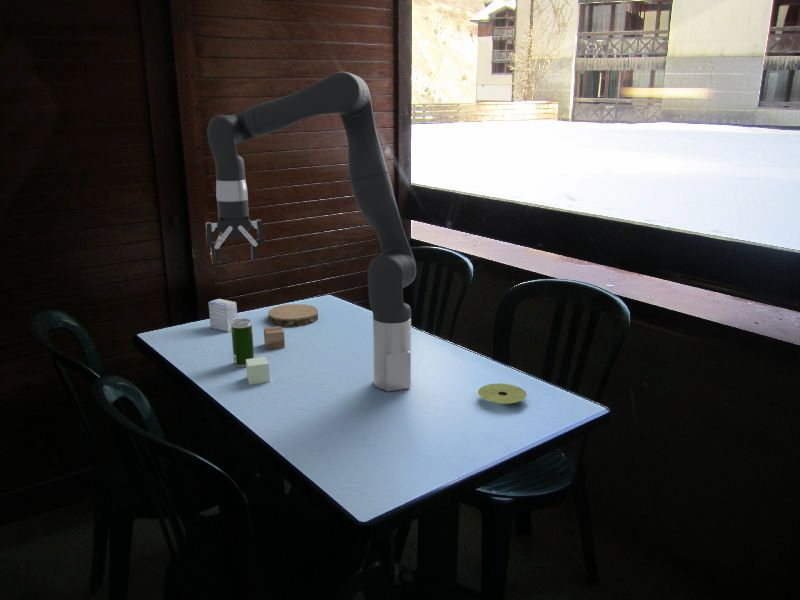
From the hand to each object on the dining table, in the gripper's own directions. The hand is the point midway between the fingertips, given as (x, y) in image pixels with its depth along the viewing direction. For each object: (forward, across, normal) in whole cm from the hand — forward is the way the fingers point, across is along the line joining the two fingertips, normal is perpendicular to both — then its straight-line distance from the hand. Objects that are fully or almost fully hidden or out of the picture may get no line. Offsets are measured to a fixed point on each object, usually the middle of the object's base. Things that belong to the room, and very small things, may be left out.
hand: (236, 261), depth 169 cm
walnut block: (+28, +10, +11) cm, 32 cm away
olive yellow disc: (+28, +54, -44) cm, 75 cm away
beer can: (+28, 0, 0) cm, 28 cm away
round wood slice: (+29, +20, +34) cm, 49 cm away
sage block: (+28, +2, -12) cm, 31 cm away
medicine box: (+28, -2, +32) cm, 43 cm away
